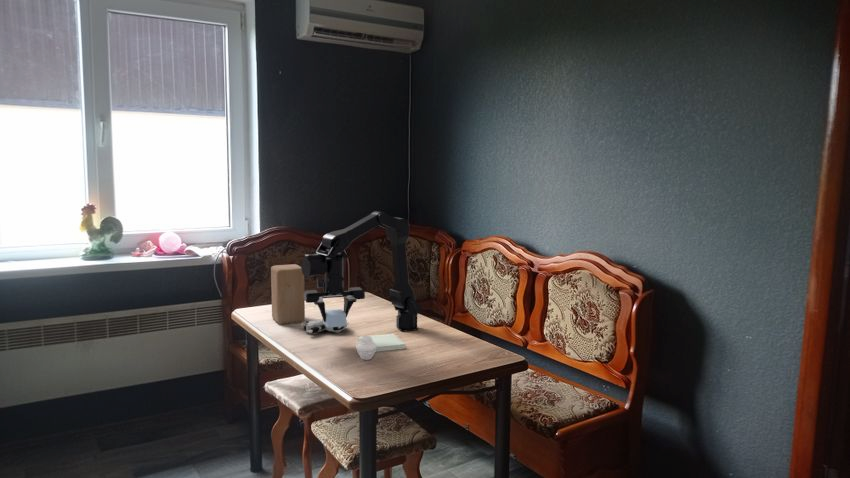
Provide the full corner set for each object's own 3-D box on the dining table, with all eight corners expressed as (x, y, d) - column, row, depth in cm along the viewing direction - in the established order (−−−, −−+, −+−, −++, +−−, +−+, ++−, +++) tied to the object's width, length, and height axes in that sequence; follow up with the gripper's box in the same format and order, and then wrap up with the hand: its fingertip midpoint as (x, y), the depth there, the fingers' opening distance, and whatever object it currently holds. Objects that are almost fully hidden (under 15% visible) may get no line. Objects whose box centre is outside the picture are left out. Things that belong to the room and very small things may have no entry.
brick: (341, 321, 205) (341, 309, 205) (346, 325, 200) (345, 313, 199) (323, 322, 203) (323, 310, 202) (327, 327, 197) (327, 315, 197)
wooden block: (278, 325, 224) (277, 270, 221) (271, 318, 232) (270, 265, 230) (305, 322, 228) (304, 268, 226) (297, 315, 237) (297, 263, 234)
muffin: (376, 354, 193) (376, 332, 192) (377, 361, 187) (377, 338, 186) (355, 355, 192) (355, 333, 191) (356, 361, 186) (356, 338, 185)
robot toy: (308, 341, 209) (351, 333, 215) (307, 328, 208) (350, 320, 214) (300, 331, 220) (341, 324, 226) (299, 318, 219) (340, 311, 225)
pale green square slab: (393, 337, 210) (393, 333, 210) (404, 348, 199) (405, 344, 199) (358, 341, 206) (358, 336, 206) (368, 352, 195) (368, 347, 195)
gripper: (356, 267, 210) (356, 312, 212) (300, 270, 203) (301, 317, 205) (365, 273, 199) (365, 321, 201) (306, 276, 193) (307, 326, 195)
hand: (334, 321), depth 201 cm, fingers closed on brick, 6 cm apart
